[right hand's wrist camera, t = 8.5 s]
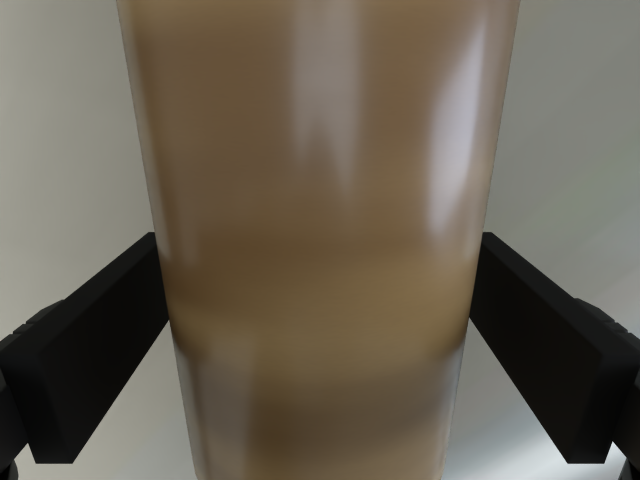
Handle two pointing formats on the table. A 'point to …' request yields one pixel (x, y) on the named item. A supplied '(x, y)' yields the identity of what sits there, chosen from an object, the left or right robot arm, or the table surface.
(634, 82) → the table surface
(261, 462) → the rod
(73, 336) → the right robot arm
